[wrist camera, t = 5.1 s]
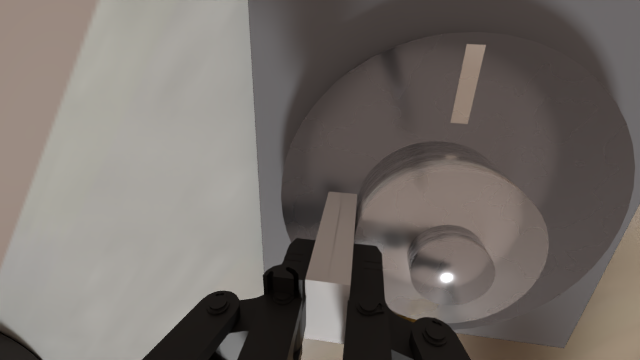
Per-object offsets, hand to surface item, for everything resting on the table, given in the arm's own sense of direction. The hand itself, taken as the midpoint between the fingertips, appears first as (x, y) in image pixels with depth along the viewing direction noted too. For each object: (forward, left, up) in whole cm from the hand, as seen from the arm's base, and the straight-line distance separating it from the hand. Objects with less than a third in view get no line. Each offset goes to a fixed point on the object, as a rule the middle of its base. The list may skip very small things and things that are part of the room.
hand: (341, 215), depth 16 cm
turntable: (+5, -2, -3) cm, 7 cm away
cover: (+5, 0, -1) cm, 5 cm away
